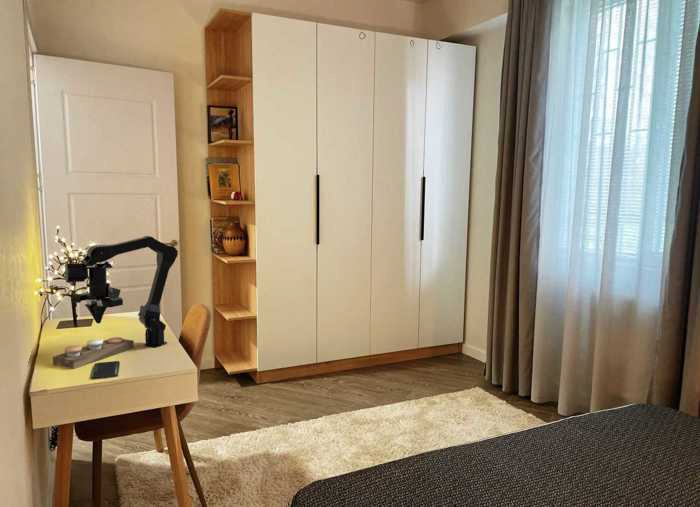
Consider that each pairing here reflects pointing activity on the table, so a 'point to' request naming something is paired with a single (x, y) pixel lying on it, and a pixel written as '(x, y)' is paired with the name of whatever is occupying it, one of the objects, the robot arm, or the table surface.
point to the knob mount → (92, 354)
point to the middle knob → (95, 344)
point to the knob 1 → (73, 351)
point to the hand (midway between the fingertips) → (98, 323)
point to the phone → (105, 370)
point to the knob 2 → (115, 340)
